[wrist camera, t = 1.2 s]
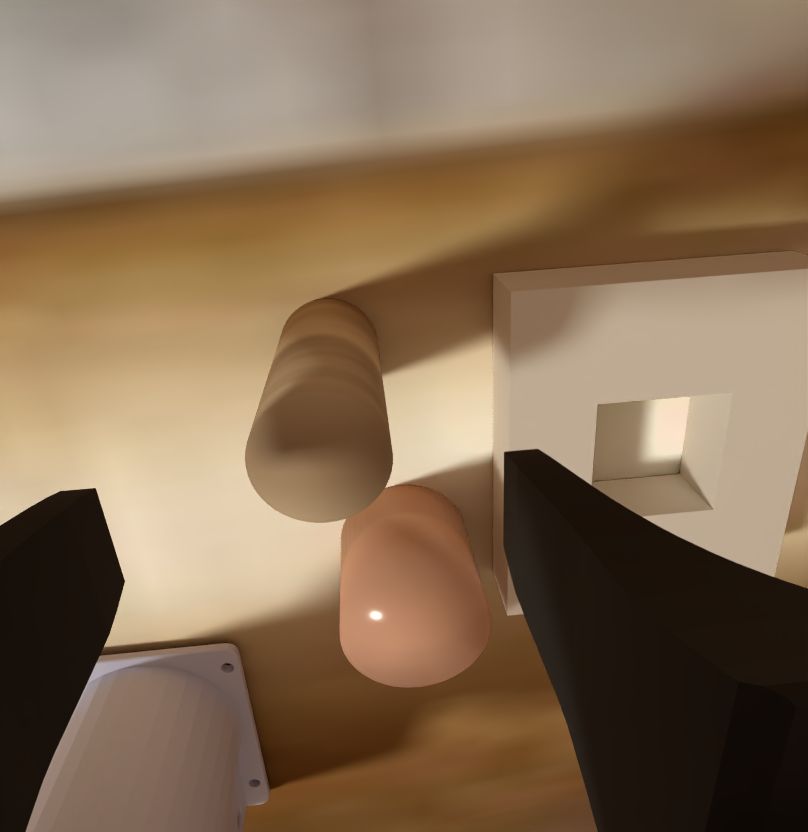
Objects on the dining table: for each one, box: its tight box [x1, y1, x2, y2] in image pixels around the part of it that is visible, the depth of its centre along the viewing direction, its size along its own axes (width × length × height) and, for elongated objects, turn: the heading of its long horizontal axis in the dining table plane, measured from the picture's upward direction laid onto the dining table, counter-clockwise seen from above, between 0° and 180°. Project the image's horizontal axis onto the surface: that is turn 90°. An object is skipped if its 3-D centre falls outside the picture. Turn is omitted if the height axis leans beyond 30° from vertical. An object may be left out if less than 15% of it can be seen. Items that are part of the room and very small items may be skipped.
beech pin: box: [245, 299, 393, 523], centre depth 18 cm, size 3×3×8 cm
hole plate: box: [493, 251, 808, 616], centre depth 22 cm, size 12×10×2 cm
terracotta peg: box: [340, 485, 491, 688], centre depth 22 cm, size 5×5×5 cm
